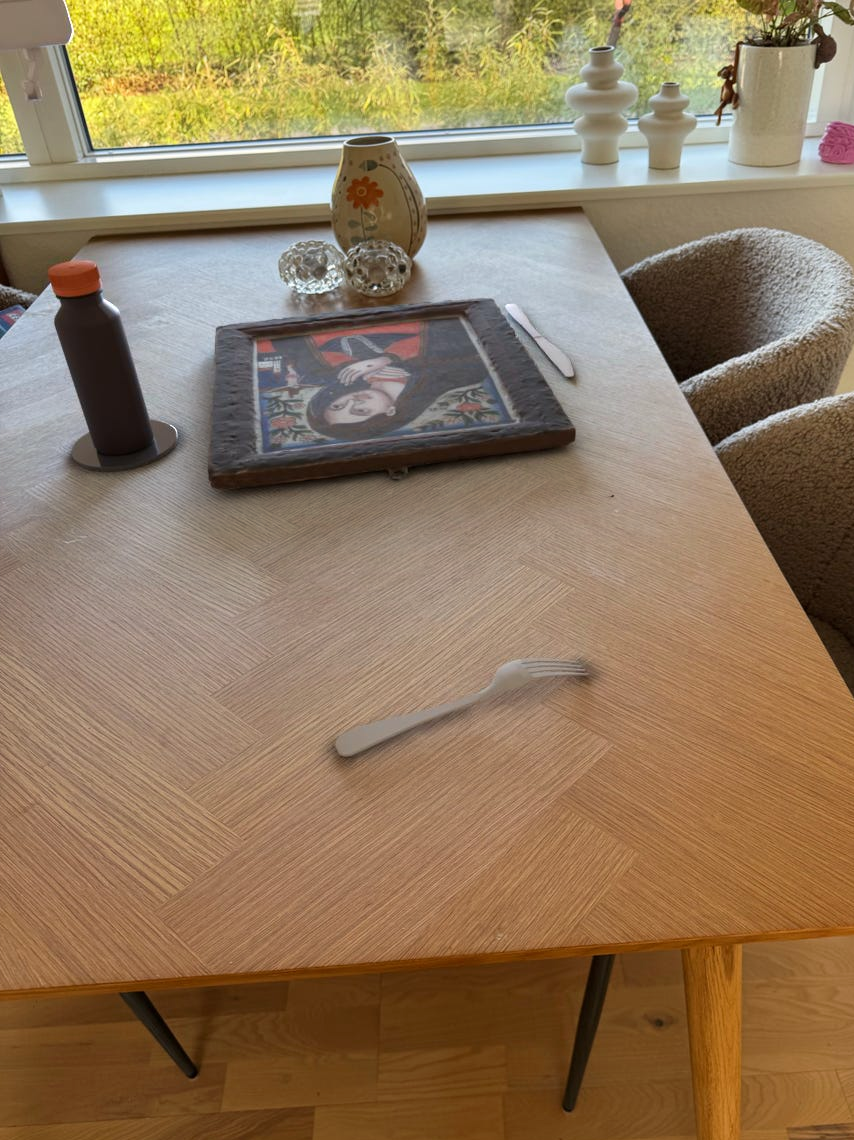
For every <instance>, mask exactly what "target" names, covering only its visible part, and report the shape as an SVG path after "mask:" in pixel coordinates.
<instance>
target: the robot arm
mask: <svg viewBox="0 0 854 1140" xmlns="http://www.w3.org/2000/svg"><path fill="white" fill-rule="evenodd" d="M73 35H74V27H73V24H72V20H71V16H70V13H69V10H68V7H67V4H66V1H65V0H0V53H1V52H10V51H19V50H22V54H23V56H24V59H25V60H27V61H29V62H30V64H29V69H28V73H27V79H22V80H21V79H20V80H19V83H20V88H21V89H23V92H22V95H23V97H24V100H25V101H26V102H28V103H29V102H37V101H44V98H43V93H42V90H41V87H40V83H39V81H40V79H41V74H42V70H43V66H44V62H45V59H44V56H43V53H42V48H46V47H56V46H64V45H65V46H66V45H69V44H70V42H71V40H72V38H73Z"/></svg>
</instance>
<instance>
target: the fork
mask: <svg viewBox="0 0 854 1140" xmlns="http://www.w3.org/2000/svg"><path fill="white" fill-rule="evenodd" d="M578 664H579V665H578ZM583 672H584V673H583ZM585 672H586V669H584V668H583V665H580V662H579V661H577V660H569V659H562V658H553V657H552V658H549V657H526V658H518V659H513V660H512V661H508V662H507V663H505V664H504V665H502V666H500V667H499V668H498V669H497V670H496V672H495V674H494V678H493V680H492V682H491V683H490V684H489V685H488V686H487V687H485V688H484V689H482V690H480V691H479V692H476V693H474V694H471V695H469V696H466V697H463V698H460V699H457V700H454V701H450V702H448V703H444V704H441V705H440V704H439V705H438V706H434V707H429V708H427V709H422V710H418V711H414V712H410V713H406V714H401V715H398V716H393V717H389V718H383V719H380V720H377V721H373V722H370V723H366V724H361V725H360V726H356V727H355V728H352V729H351V730H350V729H349V731H346V732H344V733H341V734H340V735H339V737H338V738H337V739H336V741H335V744H334V747H335V749H336V751H337V753H338V755H339V756H342V757H345V758H346V757H352V756H354V755H356V754H358V753H360V752H363V751H365V750H368V749H369V748H372V747H373V746H376V745H378V744H380V743H383V742H385V741H386V740H389V739H391V738H393V737H395V736H397V735H399V734H402V733H404V732H406V731H408V730H411V729H413V728H414V727H417V726H420V725H422V724H424V723H427V722H429V721H432V720H435V719H437V718H439V717H441V716H444V715H447V714H450V713H453V712H455V711H457V710H461V709H463V708H466V707H469V706H471V705H473V704H476V703H478V702H480V701H482V700H485V699H487V698H488V697H490V696H492V695H494V694H496V693H499V692H511V691H512V690H515V689H518V688H519V687H521V686H523V685H525V684H527V683H529V682H531V681H533V680H537V679H538V680H539V679H543V678H549V677H550V678H551V677H567V676H571V677H576V676H580V677H582V676H583V677H585V676H587V677H588V676H590V674H589V673H587V672H586V673H585Z"/></svg>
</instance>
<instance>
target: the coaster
mask: <svg viewBox="0 0 854 1140" xmlns="http://www.w3.org/2000/svg"><path fill="white" fill-rule="evenodd" d="M149 419H150V418H149ZM150 422H151V426H152V429H153V433H154V438H153V440H152V442H151V443H150V444H149V445H148V446H147V447H145V448H143V449H142V450H140V451H137V452H134V453H131V454H125V455H114V456H113V455H106V454H103V453H100V452H98V451H97V450H96V448H95V447H94V444H93V441H92V438H91V435H90V432H89V431H88V432H86V433H85V434H84V435H82V436H81V437H80V438H78V439H77V441H75V442H74V444H73V445H72V448H71V456H72V459H73V462H74V463H76V465H78V466H80V467H82V468H83V469H87V470H91V471H97V472H117V471H126V470H131V469H135V468H140V467H143V466H145V465H149V464H151V463H153V462H156V461H158V460H160V459H162V458H163V457H165V456H167V455H168V454H170V453H171V452H172V451H173V450H174V449H175V447H176V446H177V444H178V442H179V434H178V431H177V429H176V427H174V426H173V425H172V424H170V423H168V422H167V421H166V422H165V421H162V420H159V419H150Z"/></svg>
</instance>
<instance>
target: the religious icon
mask: <svg viewBox="0 0 854 1140" xmlns="http://www.w3.org/2000/svg"><path fill="white" fill-rule="evenodd" d="M213 353H214V354H213V373H212V387H211V407H210V422H209V425H210V426H209V444H208V449H207V450H208V451H207V453H208V454H207V474H208V481H209V482H210V487H211V489H215V490H225V491H226V490H227V491H229V490H236V489H245V488H252V487H258V486H267V485H275V484H285V483H293V482H303V481H306V480H307V481H308V480H316V479H326V478H334V477H341V476H347V475H356V474H361V473H362V474H363V473H369V472H380V471H388V474H389V476H390V478H392V479H394V480H395V479H396V480H397V479H402V478H404V477H405V476H407V474H408V472H409V471H408V468H409V467H418V466H423V465H431V464H438V463H447V462H453V461H459V460H466V459H473V458H481V457H488V456H489V457H490V456H497V455H503V454H511V453H512V454H513V453H516V454H517V453H522V452H530V451H538V450H545V449H546V450H547V449H551V448H557V447H564V446H567V445H569V444H571V443H574V442H575V441H576V434H577V433H576V432H577V430H576V427H575V425H574V424H573V422H572V421H571V419H570V418H569V417H568V415H567V413H566V412H565V410H564V408H563V406H562V404H561V402H560V401H559V400H558V398H557V397H556V395H555V394H554V391H553V389H552V387H551V386H550V385H549V383H548V381H547V380H546V378H545V376H544V374H543V373H542V372H541V370H540V368H539V367H538V364H537V363H536V362H535V360H534V359H533V358H532V356H531V354H530V353H529V351H528V349H527V348H526V347H525V346H524V344H523V342H522V341H520V337H517V335H516V332H515V329H514V327H511V324H510V322H509V321H508V320H507V317H506V316H505V314H504V313H502V310H501V308H500V307H499V306H498V305H497V303H496V302H495V299H494V298H488V297H479V298H468V299H455V300H454V299H446V300H442V301H436V302H431V301H422V302H413V303H407V304H392V305H391V304H389V305H383V306H372V307H364V308H358V309H349V310H341V311H334V312H322V313H314V314H308V315H301V316H290V317H282V318H272V319H265V320H256V321H245V322H238V323H229V324H226V325H218V326H216V327H215V336H214V351H213ZM398 471H399V472H400V471H401V472H403V474H402V475H400V476H399V475H398V476H397V475H395V473H397V472H398Z"/></svg>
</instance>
